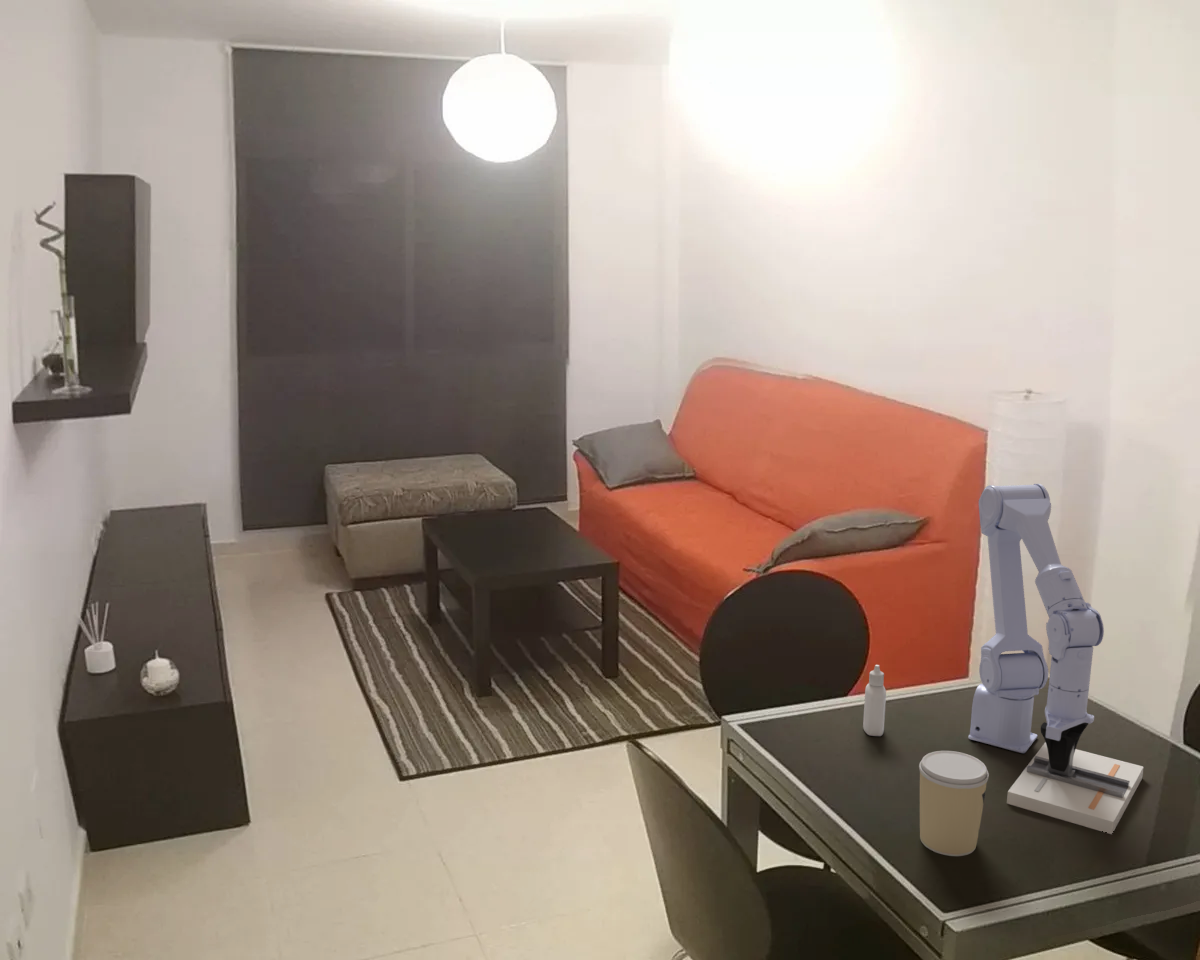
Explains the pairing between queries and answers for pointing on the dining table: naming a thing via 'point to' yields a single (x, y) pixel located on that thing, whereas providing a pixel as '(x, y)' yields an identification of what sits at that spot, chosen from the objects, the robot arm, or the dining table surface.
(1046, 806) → the console
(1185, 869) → the dining table surface
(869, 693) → the eye dropper bottle
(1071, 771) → the fader tab
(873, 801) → the dining table surface
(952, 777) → the coffee cup
